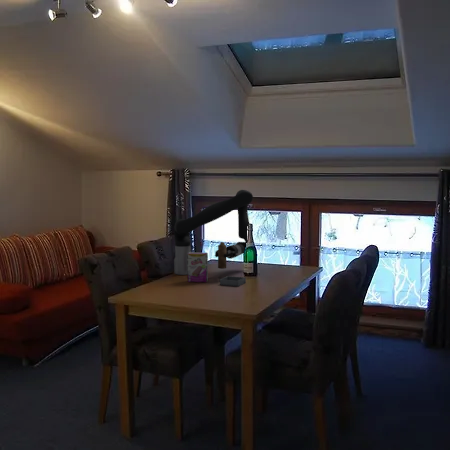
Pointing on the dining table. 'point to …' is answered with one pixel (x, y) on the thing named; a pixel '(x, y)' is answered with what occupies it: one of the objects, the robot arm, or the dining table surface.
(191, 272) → the candy bar box
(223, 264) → the pepper mill
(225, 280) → the tray
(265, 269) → the dining table surface
